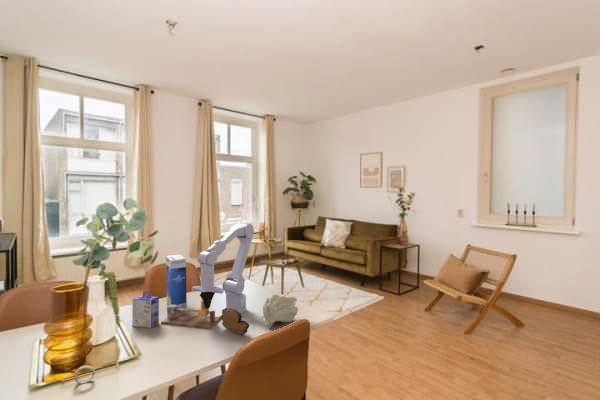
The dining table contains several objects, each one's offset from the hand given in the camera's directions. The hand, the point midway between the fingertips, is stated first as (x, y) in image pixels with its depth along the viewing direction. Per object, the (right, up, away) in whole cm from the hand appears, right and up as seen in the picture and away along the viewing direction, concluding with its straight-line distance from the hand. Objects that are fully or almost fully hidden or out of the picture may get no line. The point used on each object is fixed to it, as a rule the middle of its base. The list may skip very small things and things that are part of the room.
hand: (207, 307), depth 136 cm
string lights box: (-22, -6, +19) cm, 30 cm away
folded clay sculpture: (+32, -7, +2) cm, 33 cm away
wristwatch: (-26, -9, -41) cm, 50 cm away
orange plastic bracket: (-2, -3, +1) cm, 4 cm away
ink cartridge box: (-27, -7, -1) cm, 28 cm away
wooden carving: (+14, -8, -7) cm, 17 cm away
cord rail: (-8, -7, +2) cm, 11 cm away
